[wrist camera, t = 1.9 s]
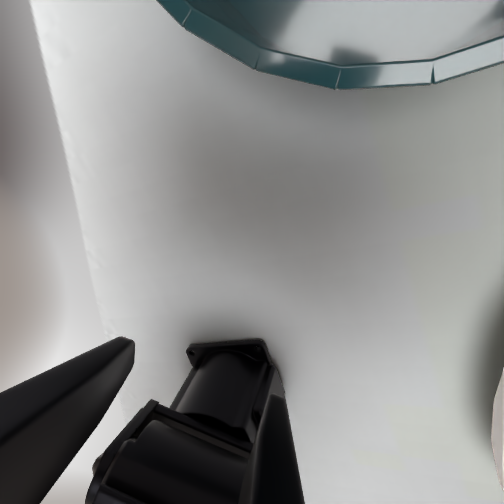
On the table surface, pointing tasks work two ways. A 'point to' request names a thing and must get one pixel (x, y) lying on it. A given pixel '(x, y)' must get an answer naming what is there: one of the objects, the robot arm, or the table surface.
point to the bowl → (351, 38)
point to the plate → (498, 431)
